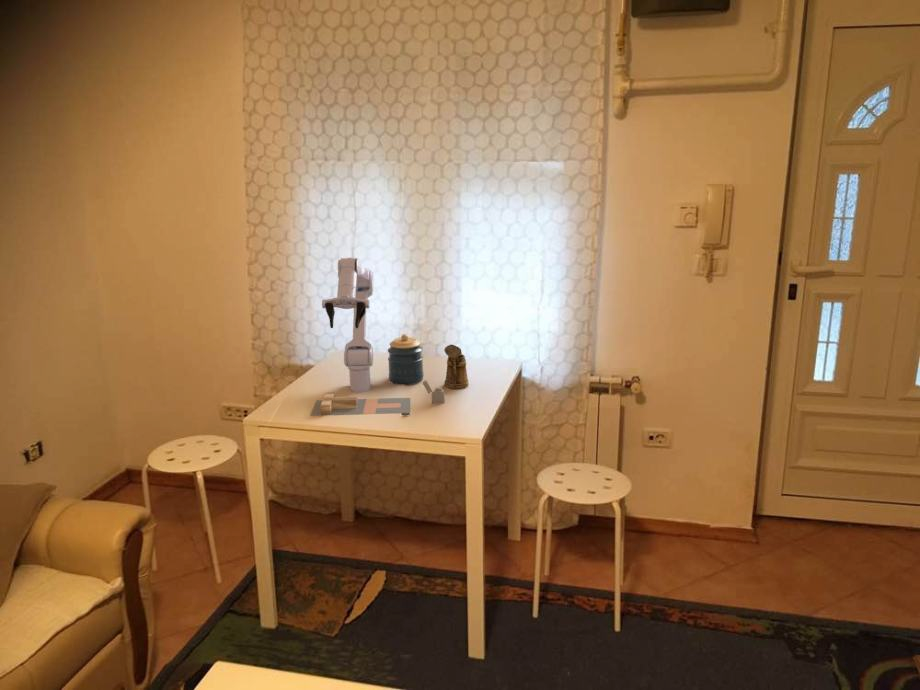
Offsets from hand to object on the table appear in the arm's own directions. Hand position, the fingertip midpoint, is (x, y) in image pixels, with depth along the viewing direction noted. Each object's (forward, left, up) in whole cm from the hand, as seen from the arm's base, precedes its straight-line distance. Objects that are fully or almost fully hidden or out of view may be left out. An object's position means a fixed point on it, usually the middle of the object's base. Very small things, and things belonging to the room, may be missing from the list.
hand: (344, 326), depth 212 cm
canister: (-39, +17, -31) cm, 53 cm away
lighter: (-14, +27, -31) cm, 44 cm away
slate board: (-10, +3, -31) cm, 33 cm away
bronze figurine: (-29, +35, -31) cm, 55 cm away
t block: (-10, -4, -30) cm, 32 cm away
